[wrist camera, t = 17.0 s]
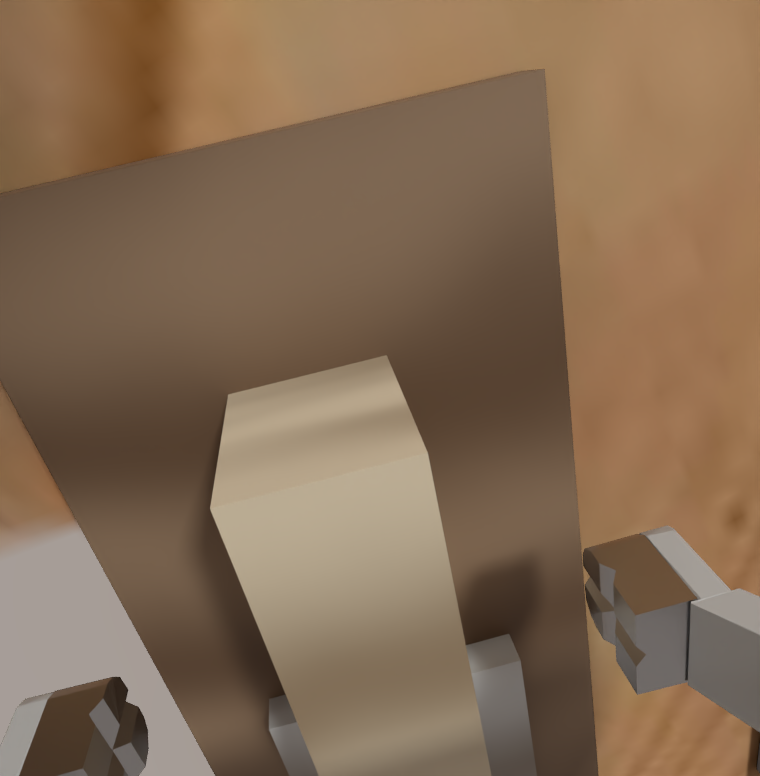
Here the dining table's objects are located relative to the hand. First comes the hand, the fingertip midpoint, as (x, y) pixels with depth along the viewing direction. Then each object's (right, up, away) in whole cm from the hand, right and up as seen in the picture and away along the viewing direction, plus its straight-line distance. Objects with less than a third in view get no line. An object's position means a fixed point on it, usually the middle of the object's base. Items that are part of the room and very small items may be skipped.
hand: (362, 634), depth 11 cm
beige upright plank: (0, -2, +4) cm, 4 cm away
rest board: (0, -1, +5) cm, 5 cm away
